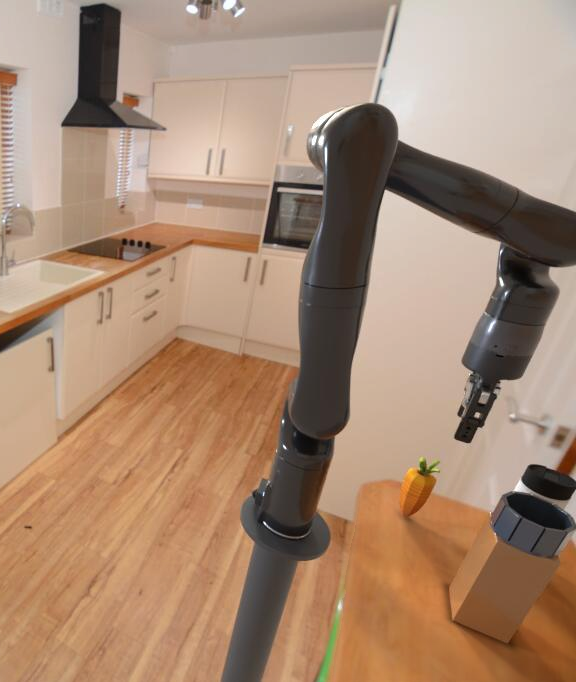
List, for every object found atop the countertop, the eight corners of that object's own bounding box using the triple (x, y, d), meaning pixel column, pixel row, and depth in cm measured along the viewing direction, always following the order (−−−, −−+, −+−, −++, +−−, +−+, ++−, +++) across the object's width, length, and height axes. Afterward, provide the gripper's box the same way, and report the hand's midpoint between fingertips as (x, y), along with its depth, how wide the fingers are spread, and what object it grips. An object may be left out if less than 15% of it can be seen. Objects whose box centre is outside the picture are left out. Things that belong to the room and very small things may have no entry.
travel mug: (479, 555, 85) (525, 471, 77) (487, 536, 89) (532, 455, 80) (524, 578, 81) (578, 492, 72) (530, 557, 85) (582, 473, 76)
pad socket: (449, 621, 74) (508, 517, 64) (445, 584, 80) (498, 484, 70) (511, 648, 70) (584, 541, 60) (502, 607, 76) (567, 504, 66)
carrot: (416, 511, 95) (441, 454, 88) (421, 528, 91) (448, 470, 84) (388, 504, 97) (411, 447, 90) (392, 520, 93) (416, 462, 86)
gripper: (472, 323, 78) (439, 403, 85) (469, 352, 68) (431, 439, 75) (532, 335, 73) (492, 418, 80) (537, 367, 64) (491, 459, 71)
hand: (463, 428), depth 78 cm, fingers open, 8 cm apart
